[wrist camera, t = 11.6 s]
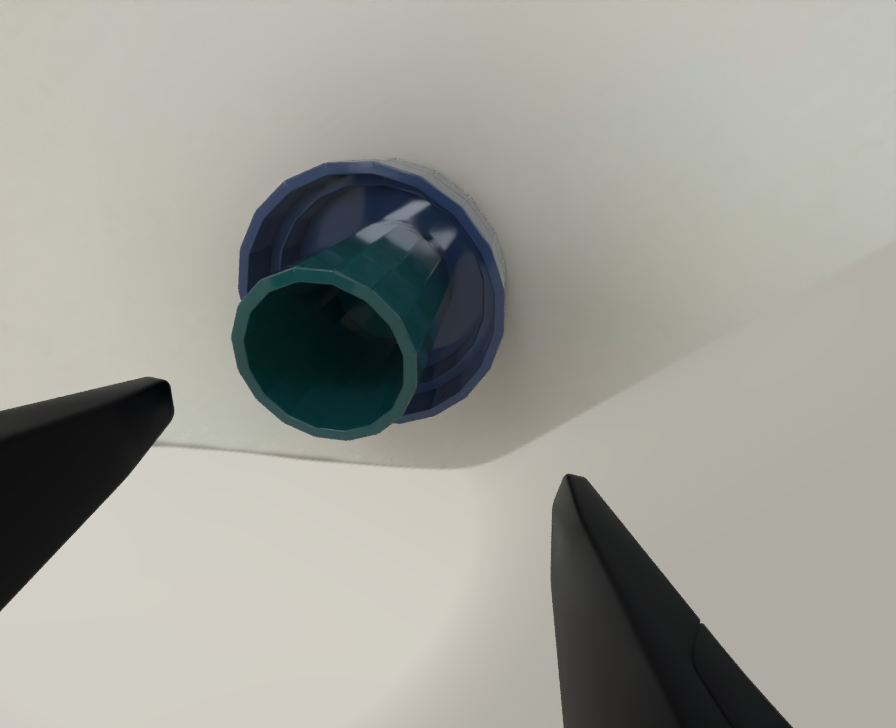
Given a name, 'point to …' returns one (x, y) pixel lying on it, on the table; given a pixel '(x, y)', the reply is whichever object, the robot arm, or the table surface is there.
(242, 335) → the cup
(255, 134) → the table surface
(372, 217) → the bowl
